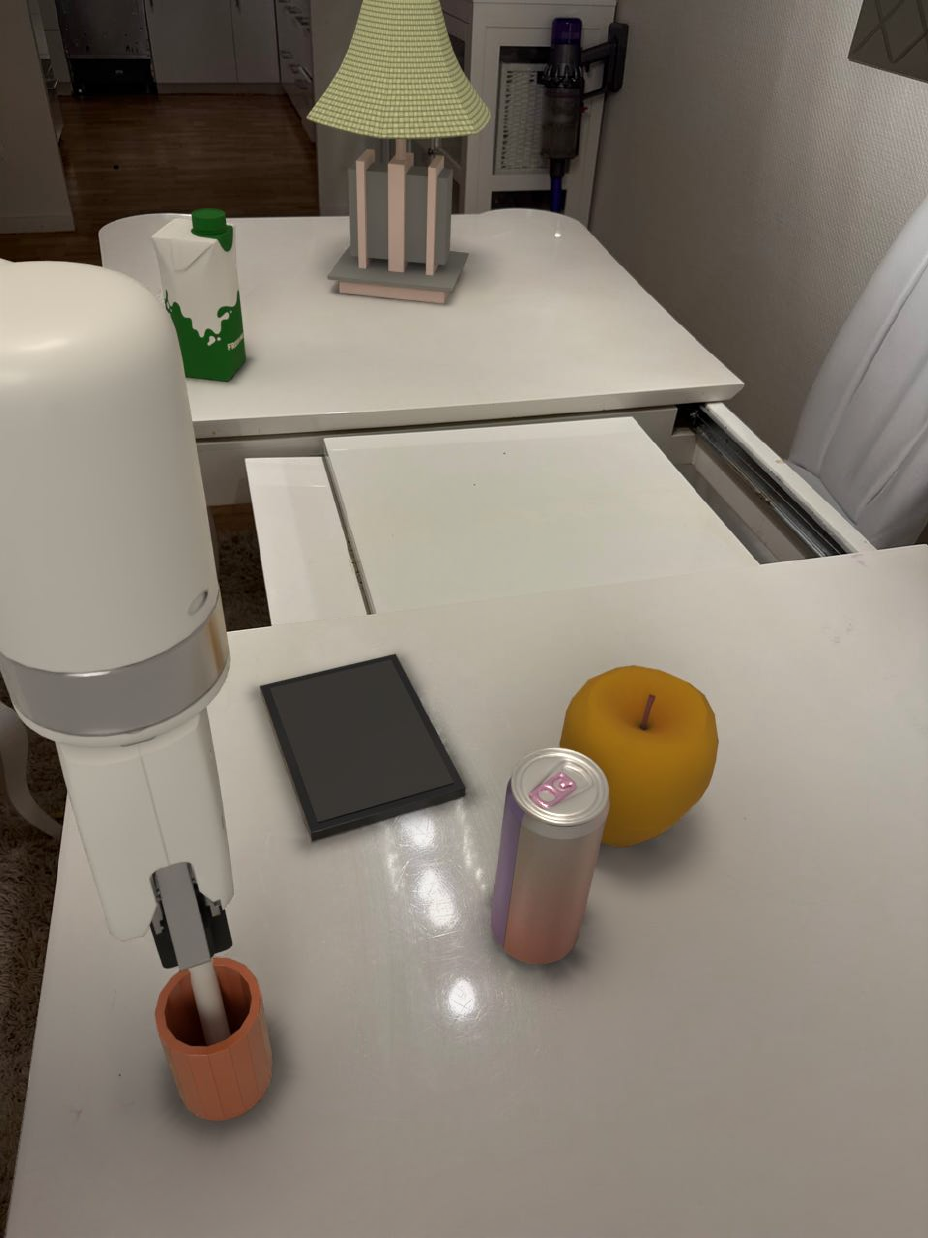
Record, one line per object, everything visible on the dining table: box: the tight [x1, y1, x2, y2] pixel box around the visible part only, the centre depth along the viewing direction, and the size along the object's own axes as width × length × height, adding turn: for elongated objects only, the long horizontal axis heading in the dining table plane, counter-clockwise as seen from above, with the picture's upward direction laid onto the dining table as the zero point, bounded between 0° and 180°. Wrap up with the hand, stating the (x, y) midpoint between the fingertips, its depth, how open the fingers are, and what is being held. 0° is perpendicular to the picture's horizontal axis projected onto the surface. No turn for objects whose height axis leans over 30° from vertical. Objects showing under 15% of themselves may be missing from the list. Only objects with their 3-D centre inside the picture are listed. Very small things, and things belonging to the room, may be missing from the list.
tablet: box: [259, 653, 467, 842], centre depth 74 cm, size 12×16×1 cm
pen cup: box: [154, 956, 274, 1122], centre depth 51 cm, size 5×5×8 cm
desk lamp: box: [305, 0, 492, 304], centre depth 139 cm, size 26×28×40 cm
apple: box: [559, 664, 720, 849], centre depth 65 cm, size 11×11×13 cm
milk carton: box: [150, 207, 247, 383], centre depth 118 cm, size 9×9×20 cm
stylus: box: [189, 956, 231, 1047], centre depth 51 cm, size 1×1×13 cm
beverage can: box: [490, 746, 610, 965], centre depth 57 cm, size 6×6×15 cm
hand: (192, 928), depth 44 cm, fingers closed
